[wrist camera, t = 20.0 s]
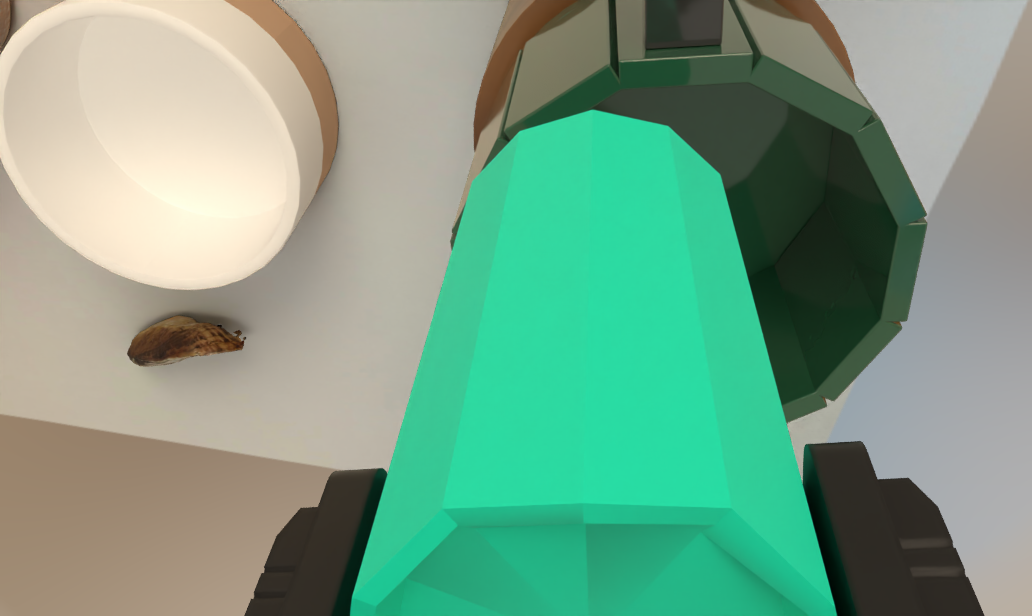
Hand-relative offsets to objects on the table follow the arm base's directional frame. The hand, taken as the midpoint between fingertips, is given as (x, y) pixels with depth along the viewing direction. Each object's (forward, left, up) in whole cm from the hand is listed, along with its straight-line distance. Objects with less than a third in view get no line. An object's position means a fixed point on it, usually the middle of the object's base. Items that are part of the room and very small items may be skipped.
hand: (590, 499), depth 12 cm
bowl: (+6, -26, -41) cm, 48 cm away
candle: (0, 0, -8) cm, 8 cm away
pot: (+1, +2, -22) cm, 22 cm away
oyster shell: (+23, -34, -41) cm, 57 cm away
